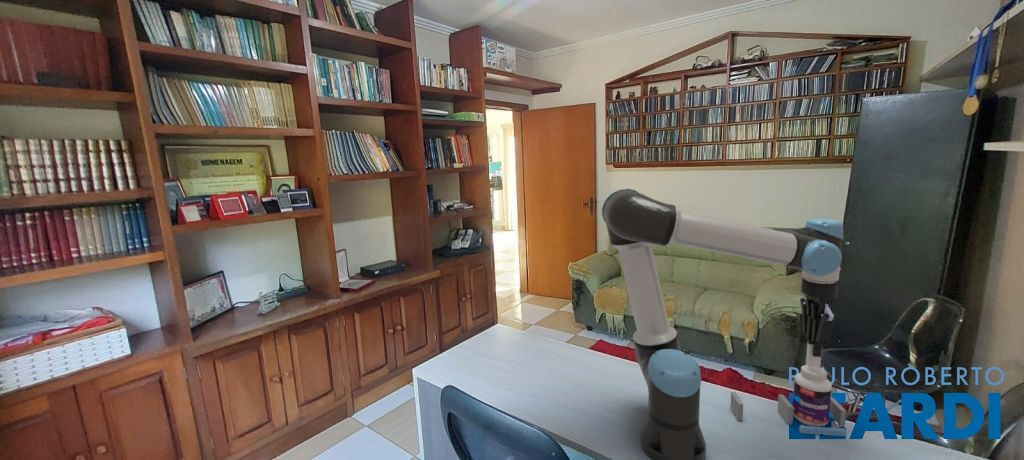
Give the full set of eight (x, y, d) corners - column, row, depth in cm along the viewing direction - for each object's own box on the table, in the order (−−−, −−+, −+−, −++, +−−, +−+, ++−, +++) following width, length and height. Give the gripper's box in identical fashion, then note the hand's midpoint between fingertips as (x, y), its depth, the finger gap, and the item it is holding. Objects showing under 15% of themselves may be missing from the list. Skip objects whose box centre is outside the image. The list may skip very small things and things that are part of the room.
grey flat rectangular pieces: (853, 437, 103) (854, 419, 102) (742, 429, 108) (743, 411, 107) (831, 414, 112) (832, 397, 111) (730, 407, 117) (731, 391, 116)
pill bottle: (793, 424, 109) (797, 374, 106) (789, 407, 116) (793, 360, 113) (831, 432, 105) (836, 380, 102) (825, 414, 112) (829, 365, 109)
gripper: (852, 287, 97) (843, 379, 101) (822, 272, 110) (815, 355, 113) (817, 287, 98) (809, 377, 102) (791, 272, 111) (785, 353, 115)
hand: (812, 365), depth 108 cm, fingers closed
